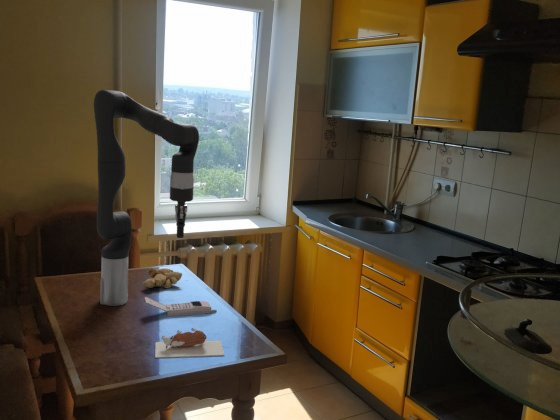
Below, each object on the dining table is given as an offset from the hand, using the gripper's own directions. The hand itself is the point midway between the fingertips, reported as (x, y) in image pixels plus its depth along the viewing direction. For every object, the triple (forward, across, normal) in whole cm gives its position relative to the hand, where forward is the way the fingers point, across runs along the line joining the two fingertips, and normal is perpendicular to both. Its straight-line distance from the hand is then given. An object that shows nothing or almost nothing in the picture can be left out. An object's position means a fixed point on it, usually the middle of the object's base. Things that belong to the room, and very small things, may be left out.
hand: (180, 237), depth 178 cm
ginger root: (+29, -37, -5) cm, 47 cm away
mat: (+29, +23, +3) cm, 37 cm away
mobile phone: (+30, -7, +1) cm, 30 cm away
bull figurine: (+27, +16, +2) cm, 31 cm away
